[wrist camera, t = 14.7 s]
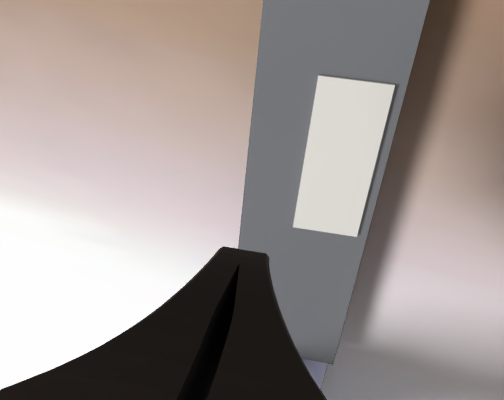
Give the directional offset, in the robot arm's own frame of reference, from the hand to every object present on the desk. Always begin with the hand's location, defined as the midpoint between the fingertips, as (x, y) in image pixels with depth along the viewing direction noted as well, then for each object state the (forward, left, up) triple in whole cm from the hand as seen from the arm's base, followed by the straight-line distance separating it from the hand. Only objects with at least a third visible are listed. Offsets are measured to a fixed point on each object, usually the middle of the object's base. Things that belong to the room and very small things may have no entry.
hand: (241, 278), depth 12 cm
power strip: (+1, -2, -10) cm, 10 cm away
